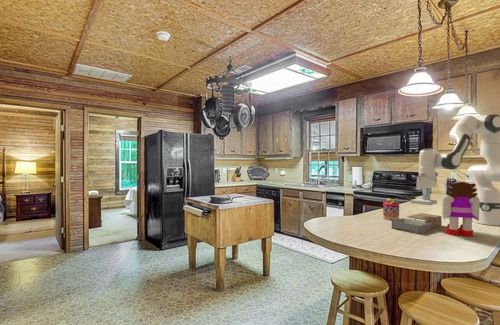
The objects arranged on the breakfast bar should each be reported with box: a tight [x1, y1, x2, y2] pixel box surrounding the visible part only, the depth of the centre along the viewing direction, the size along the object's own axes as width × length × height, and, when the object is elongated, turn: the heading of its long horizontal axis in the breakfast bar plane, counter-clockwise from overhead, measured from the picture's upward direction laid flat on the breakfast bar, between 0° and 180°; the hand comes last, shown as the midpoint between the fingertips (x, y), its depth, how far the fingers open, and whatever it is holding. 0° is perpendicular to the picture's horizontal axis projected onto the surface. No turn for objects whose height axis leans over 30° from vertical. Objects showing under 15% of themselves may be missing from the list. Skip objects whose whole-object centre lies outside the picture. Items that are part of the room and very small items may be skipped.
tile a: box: [415, 219, 426, 225], centre depth 166 cm, size 5×5×2 cm
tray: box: [391, 217, 432, 235], centre depth 166 cm, size 14×16×5 cm
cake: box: [382, 197, 400, 221], centre depth 197 cm, size 10×11×15 cm
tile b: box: [404, 216, 415, 225], centre depth 171 cm, size 5×5×2 cm
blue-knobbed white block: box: [410, 188, 438, 206], centre depth 175 cm, size 10×11×9 cm
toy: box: [441, 181, 480, 238], centre depth 155 cm, size 18×9×30 cm, turn 74°
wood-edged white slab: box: [406, 212, 443, 229], centre depth 176 cm, size 20×12×6 cm, turn 125°
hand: (426, 194), depth 178 cm, fingers closed on blue-knobbed white block, 3 cm apart
